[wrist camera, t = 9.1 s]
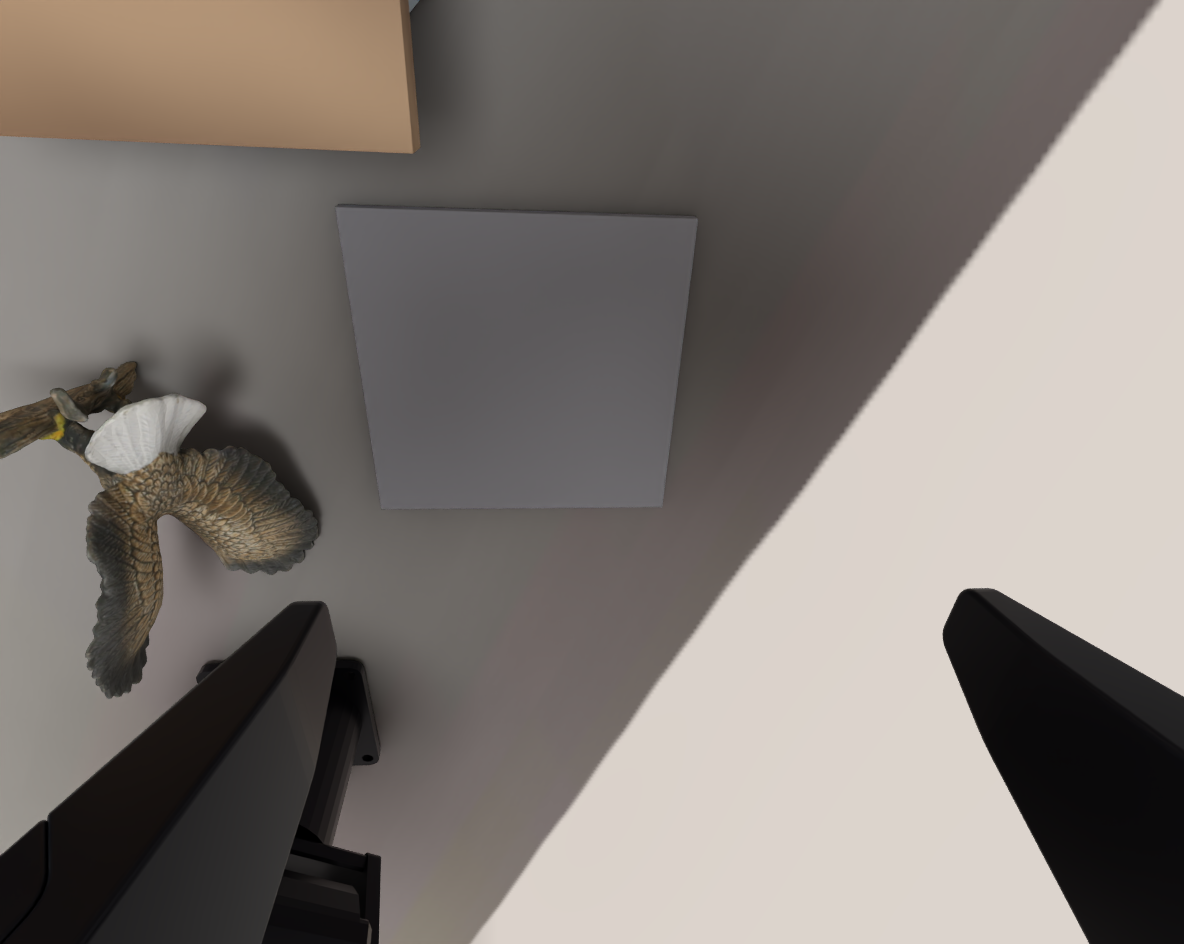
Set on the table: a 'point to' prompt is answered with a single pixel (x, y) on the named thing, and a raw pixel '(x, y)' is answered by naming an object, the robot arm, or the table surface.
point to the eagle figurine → (157, 505)
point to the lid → (211, 72)
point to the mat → (517, 352)
